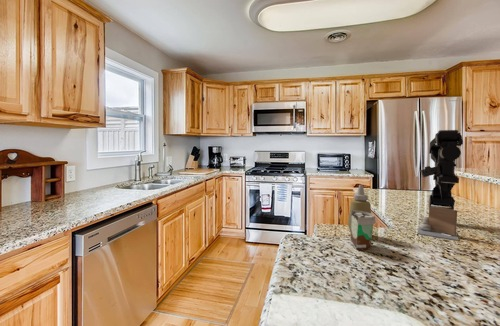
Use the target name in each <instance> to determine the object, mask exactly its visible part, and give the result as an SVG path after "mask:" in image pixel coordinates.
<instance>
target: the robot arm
mask: <svg viewBox="0 0 500 326" xmlns="http://www.w3.org/2000/svg"><path fill="white" fill-rule="evenodd" d="M462 145H464V140H463V135H462V134H461V132H459V129H440V130H438V131H437V133H435V135H434V138H433V139H432V140H431V141H430V142H429V147H428V153H429V154H430V159H431V160H432V161H433V162H434V166H432V167H431V166H430V165H429V166H428V165H427V166H424V169H420V173H421V177H422V178H427V177H429V176H433V177H432V180H433V181H434V187H433V189H432V190H431V194H430V195H429V198H428V208H429V207H430V206H432V207H439V208H445V209H451V210H455V203H456V200H455V198H454V196H453V195H452V189H453V188H454V187H455V186H456V184H460V183H459V182H460V178H459V177H458V176H457V175H456V174H455V172H456V171H455V170H456V167H457V163H456V160H457V159H460V157H461V154H462V151H461V149H460V147H462Z"/></svg>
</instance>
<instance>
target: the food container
mask: <svg viewBox="0 0 500 326" xmlns="http://www.w3.org/2000/svg"><path fill="white" fill-rule="evenodd" d="M375 224H376V217H375V215H374V214H373V213H372V212H371V213H367V212H363V211H356V210H351V233H350V242H351V243H352V245H353V247H354V249H355V250H356V251H367V250H371V246H372V238H373V237H372V236H373V229H374V225H375Z"/></svg>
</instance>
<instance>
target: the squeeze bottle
mask: <svg viewBox="0 0 500 326" xmlns="http://www.w3.org/2000/svg"><path fill="white" fill-rule="evenodd" d="M368 198H369V196H368V195H367V194H365V190H364V185H363V184H359V185H358V190H357V192H356V194H353V200H350V206H349V211H348V218H347V227H348V229H349V232H350V234H351V210H356V211H363V212H367V213H371V214H372V208H371V202H370V201H368V200H369V199H368Z"/></svg>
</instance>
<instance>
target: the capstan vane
mask: <svg viewBox="0 0 500 326" xmlns="http://www.w3.org/2000/svg"><path fill="white" fill-rule="evenodd" d="M432 206H433V205H431V206H430V207H429V206H428V217H427V216H424V217H423V222H419V226H420V229H423V230H434V231H438V232H443V233H447V234H452V235H456V233H457V226H458V224H457V223H458V210H457V209H456V210H455V209H454V210H451V209H445V208H439V207H432Z"/></svg>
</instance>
